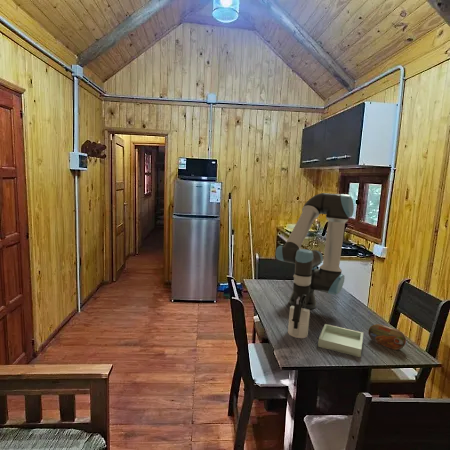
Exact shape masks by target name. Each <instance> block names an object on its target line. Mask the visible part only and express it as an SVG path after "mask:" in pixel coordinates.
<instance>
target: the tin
mask: <svg viewBox="0 0 450 450" xmlns="http://www.w3.org/2000/svg"><path fill="white" fill-rule="evenodd" d="M368 336H369V338H370V340H371V341H372V342H374V343H375V344H378V345H380V346H384V347H387V348H389V349H392V350H394V351H399V350H401V349H403V348H404V346H405V345H406V344H407V343H406V342H407V340H406V337H405V334H404V333H403V332H402V331H400V330H399V329H395V328H392V327H389V326H387V325H383V324H380V323H375V324H372V325H371V326H370V327H369V328H368Z"/></svg>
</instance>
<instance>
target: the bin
mask: <svg viewBox="0 0 450 450" xmlns="http://www.w3.org/2000/svg"><path fill="white" fill-rule="evenodd" d="M363 338H364V332H363V331H358V330H353V329H349V328H344V327H341V326H340V327H339V326H336V325H331V324H327V323H324V326H322V330H321V332H320V334H319V337H318V340H317V341H318V343H317V347H318V348H319V347H320V348H322V349H327V350H330V351H334V352H338V353H341V354H346V355H350V356H353V357H357V358H361V356H362V349H363V341H364V339H363Z"/></svg>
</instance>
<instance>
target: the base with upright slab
mask: <svg viewBox="0 0 450 450" xmlns="http://www.w3.org/2000/svg"><path fill="white" fill-rule="evenodd" d="M293 313H294V306H292V305H291V306H289V315H288V327H287V333H288V335H289V336H291V337H293V338H297V339H305V338H307V337H308V335H309V334H308V333H309V324H310V316H311V315H310V314H311V309H304V308H301V314H300V326H299V335H294V334H292V333H293V321H292V319H293Z"/></svg>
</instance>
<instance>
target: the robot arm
mask: <svg viewBox="0 0 450 450" xmlns="http://www.w3.org/2000/svg"><path fill="white" fill-rule="evenodd" d="M354 204H355V203H354V199H353V197H352V196H351V195H350V194H346V193H345V194H344V193H329V192H328V193H327V192H321V193H317V194H316V195H315V194H314V195H313V196H311V198H309V199H308V200H307V201H306V202H305V203H304V204H303V207H302V208H301V214H300V216H299V218H298V220H297V222H296V223H295V225H294V227H293V229H292V230H291V232H290V234H289V237H288V238H287V240H286V242H285V244H284V245H278V246H277V247H276V249H275V258H276V259H277V260H278V261H281V262H283V263H284V262H285V263H289V264H294V272H293V275H292V277H293V284H292V285H293V287H292V293H291V294H290V297H289V301H288V303H289V305H291V306H294V313H293V319H292V321H293V333H292V334H294V335H299V326H300V314H301V308H304V309H308V310H312V309H315V308H316V307H317V299H316V295H315V291H319V292H322V293H326V294H328V295H334V296H335V295H336V296H337V295H338V294H340V292H341V291H342V289H343V286H344V283H345V274H343V273H342V271H343V270H342V269H341V267H340V263H341V256H342V255H341V254H342V247H343V241H344V234H345V227H346V225H345V224H346V223H348V221H349V218H352V216H353V215H354V207H355V205H354ZM320 215H325V218H326V220H327V227H326V228H327V230H326V237H325V244H324V245H325V246H324V252H323V253H321V251H319V250H315V249H313V250H310V249H306V248H305V249H304V248H301V247H302V245H303V243H304V241H305V239H306V237H307V235H308V233H309V231H310V229H311V227H312V226H313V224H314V221H315V220H316V219H317V218H318V217H320ZM321 264H322V265H321ZM318 266H319V268H317V267H318Z"/></svg>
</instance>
